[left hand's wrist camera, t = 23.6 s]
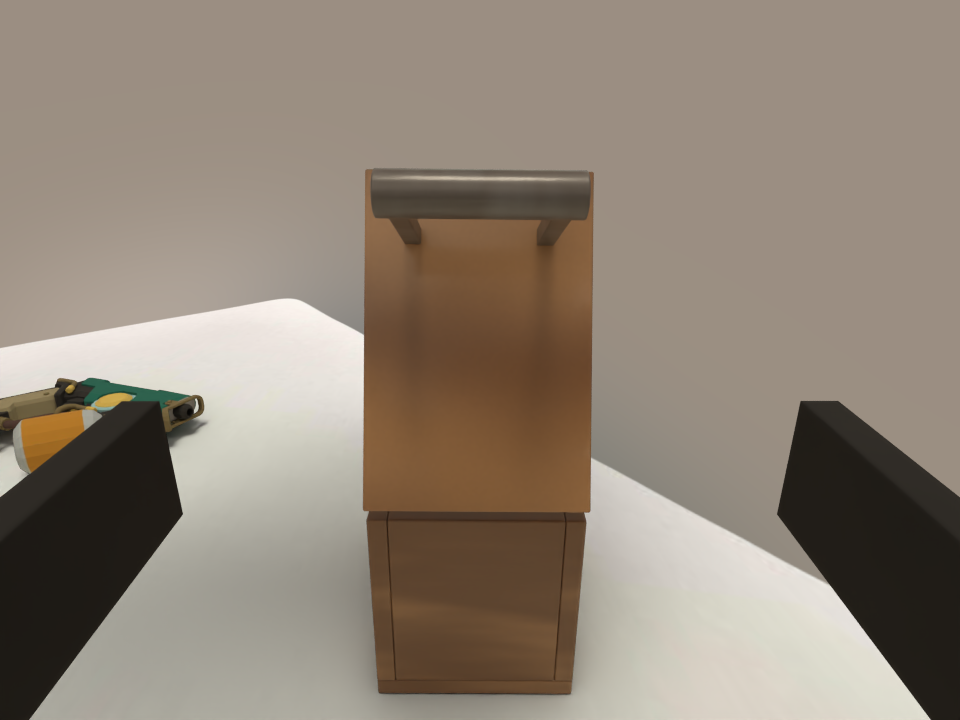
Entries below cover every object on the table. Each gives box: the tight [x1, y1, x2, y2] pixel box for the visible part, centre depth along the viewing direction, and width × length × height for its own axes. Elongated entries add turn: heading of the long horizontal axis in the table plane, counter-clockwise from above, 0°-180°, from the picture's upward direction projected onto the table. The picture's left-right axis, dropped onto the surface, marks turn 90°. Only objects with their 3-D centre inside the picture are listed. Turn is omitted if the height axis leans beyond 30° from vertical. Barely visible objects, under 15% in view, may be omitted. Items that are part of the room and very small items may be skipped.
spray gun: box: [0, 378, 204, 474], centre depth 53 cm, size 4×17×15 cm
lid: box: [363, 168, 594, 513], centre depth 22 cm, size 14×9×8 cm
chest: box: [367, 511, 586, 694], centre depth 34 cm, size 13×9×10 cm
